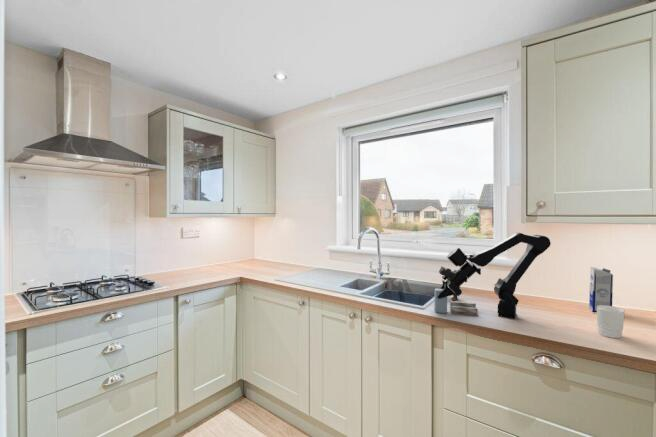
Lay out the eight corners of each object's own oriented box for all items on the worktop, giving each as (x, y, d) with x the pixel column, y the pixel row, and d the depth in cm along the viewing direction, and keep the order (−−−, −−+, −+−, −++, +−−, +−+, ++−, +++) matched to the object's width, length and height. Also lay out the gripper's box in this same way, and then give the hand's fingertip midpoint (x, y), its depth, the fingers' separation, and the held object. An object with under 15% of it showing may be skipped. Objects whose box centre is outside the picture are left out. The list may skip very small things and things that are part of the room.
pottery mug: (450, 304, 162) (441, 288, 164) (439, 307, 170) (431, 292, 172) (467, 295, 166) (459, 280, 169) (456, 299, 175) (448, 284, 177)
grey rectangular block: (445, 310, 150) (445, 289, 149) (446, 312, 146) (447, 290, 146) (434, 309, 151) (434, 288, 150) (435, 312, 147) (435, 290, 147)
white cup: (620, 340, 116) (621, 313, 116) (592, 333, 123) (593, 307, 122) (626, 335, 121) (627, 309, 120) (599, 329, 127) (600, 304, 127)
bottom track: (475, 309, 151) (475, 303, 151) (477, 315, 143) (477, 308, 143) (450, 307, 155) (450, 301, 155) (450, 312, 147) (450, 306, 147)
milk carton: (589, 308, 153) (590, 266, 153) (607, 310, 150) (608, 267, 149) (592, 312, 147) (594, 268, 146) (611, 315, 144) (613, 270, 143)
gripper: (446, 257, 156) (422, 279, 159) (453, 264, 138) (426, 289, 140) (464, 274, 155) (439, 296, 157) (473, 283, 136) (445, 308, 139)
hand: (437, 296), depth 149 cm, fingers closed on grey rectangular block, 3 cm apart
